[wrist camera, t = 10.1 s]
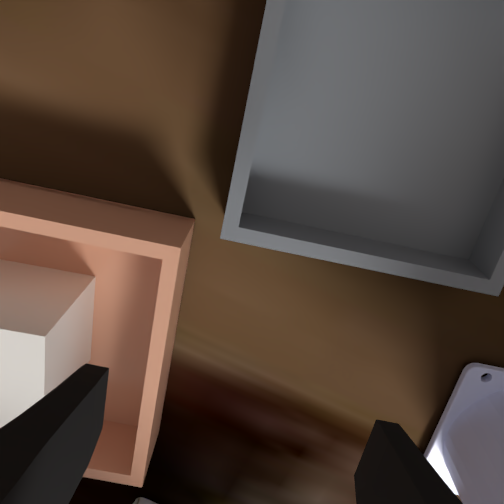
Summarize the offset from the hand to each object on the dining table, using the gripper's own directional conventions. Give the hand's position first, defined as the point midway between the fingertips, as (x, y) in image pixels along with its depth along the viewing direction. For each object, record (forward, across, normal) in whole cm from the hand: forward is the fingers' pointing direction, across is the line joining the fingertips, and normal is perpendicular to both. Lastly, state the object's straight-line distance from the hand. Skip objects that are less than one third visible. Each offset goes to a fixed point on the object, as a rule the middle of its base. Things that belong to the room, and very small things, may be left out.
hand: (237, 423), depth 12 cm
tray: (+9, -4, -8) cm, 13 cm away
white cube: (+9, +9, +4) cm, 13 cm away
